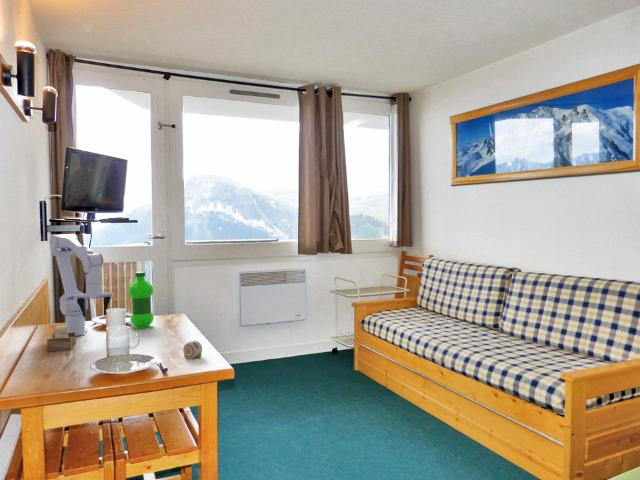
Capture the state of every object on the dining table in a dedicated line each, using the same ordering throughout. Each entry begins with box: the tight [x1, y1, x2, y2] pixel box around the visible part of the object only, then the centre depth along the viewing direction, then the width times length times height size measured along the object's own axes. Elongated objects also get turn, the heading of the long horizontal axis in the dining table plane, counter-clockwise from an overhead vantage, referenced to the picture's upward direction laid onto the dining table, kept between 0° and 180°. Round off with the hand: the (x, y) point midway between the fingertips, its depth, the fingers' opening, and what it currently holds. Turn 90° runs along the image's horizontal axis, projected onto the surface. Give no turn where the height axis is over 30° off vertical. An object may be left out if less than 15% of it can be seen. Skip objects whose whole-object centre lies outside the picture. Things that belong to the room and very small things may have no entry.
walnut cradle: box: [46, 332, 77, 352], centre depth 191 cm, size 10×8×4 cm
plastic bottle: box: [128, 271, 154, 329], centre depth 225 cm, size 10×10×25 cm
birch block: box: [53, 325, 68, 338], centre depth 191 cm, size 4×4×5 cm
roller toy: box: [182, 340, 203, 360], centre depth 173 cm, size 4×6×6 cm
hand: (94, 315), depth 202 cm, fingers open, 7 cm apart
